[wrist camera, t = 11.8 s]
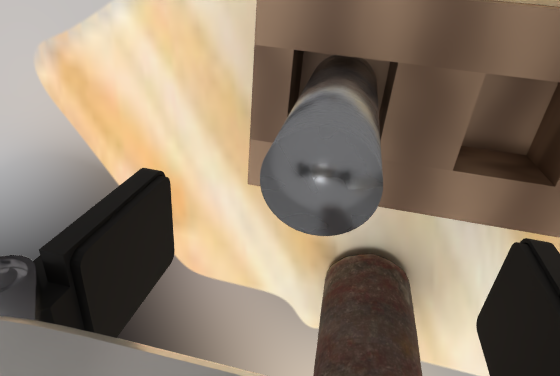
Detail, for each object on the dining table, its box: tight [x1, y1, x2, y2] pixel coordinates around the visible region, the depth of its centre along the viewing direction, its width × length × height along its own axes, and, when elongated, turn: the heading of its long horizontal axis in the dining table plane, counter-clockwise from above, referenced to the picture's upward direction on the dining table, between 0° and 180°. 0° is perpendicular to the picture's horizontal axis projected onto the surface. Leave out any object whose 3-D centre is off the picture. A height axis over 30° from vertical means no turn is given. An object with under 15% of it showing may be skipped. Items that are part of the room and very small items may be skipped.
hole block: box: [248, 0, 560, 237], centre depth 24 cm, size 20×12×6 cm, turn 85°
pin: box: [260, 55, 383, 236], centre depth 20 cm, size 4×4×14 cm
